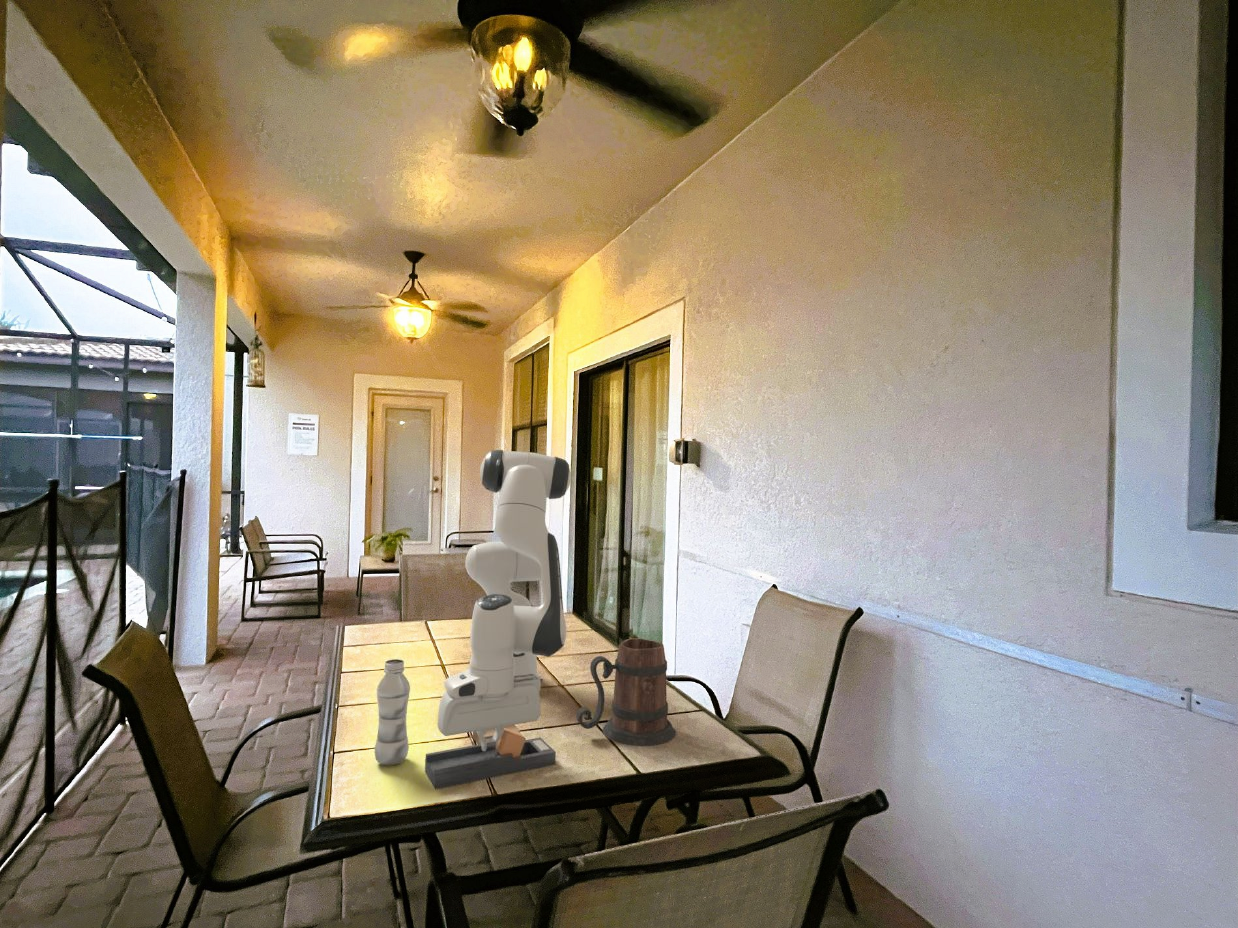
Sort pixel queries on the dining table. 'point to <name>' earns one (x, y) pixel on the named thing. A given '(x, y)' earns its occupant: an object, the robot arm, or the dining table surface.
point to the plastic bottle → (392, 714)
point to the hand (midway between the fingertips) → (489, 749)
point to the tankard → (634, 695)
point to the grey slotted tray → (484, 763)
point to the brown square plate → (491, 733)
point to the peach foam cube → (511, 743)
